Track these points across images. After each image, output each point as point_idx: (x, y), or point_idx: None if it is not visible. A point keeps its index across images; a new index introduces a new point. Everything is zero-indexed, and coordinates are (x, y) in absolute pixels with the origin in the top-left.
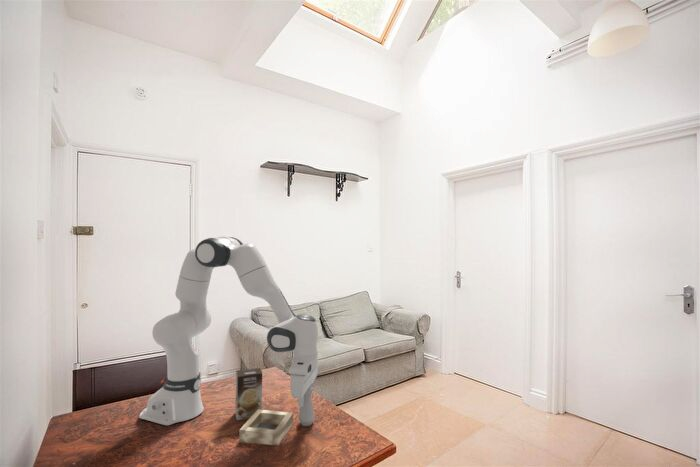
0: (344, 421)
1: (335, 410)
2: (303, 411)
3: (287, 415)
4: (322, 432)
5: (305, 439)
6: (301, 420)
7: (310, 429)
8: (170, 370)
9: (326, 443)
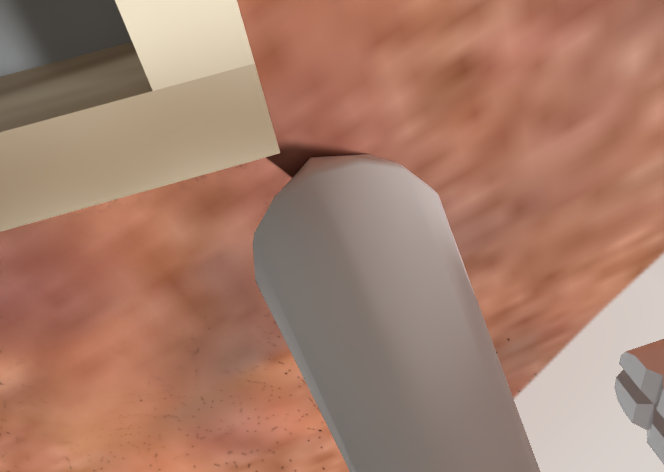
0: None
1: (617, 289)
2: (290, 341)
3: (160, 126)
4: (263, 379)
5: (90, 342)
6: (255, 252)
7: (256, 291)
8: None
9: (150, 460)
